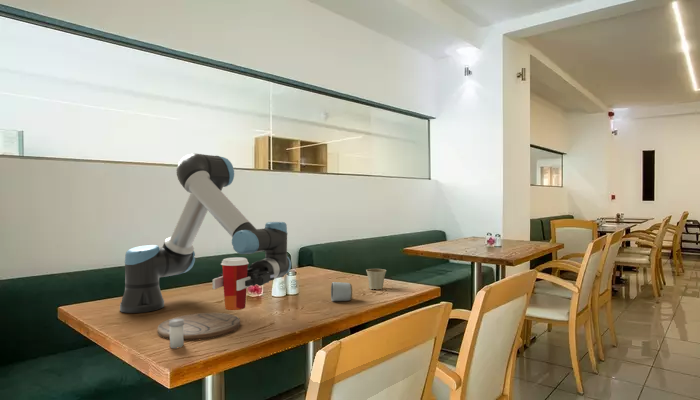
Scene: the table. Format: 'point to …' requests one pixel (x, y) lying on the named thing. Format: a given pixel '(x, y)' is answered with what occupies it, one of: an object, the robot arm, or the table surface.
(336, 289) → the ceramic mug
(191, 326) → the trivet
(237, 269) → the paper cup
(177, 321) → the salt shaker
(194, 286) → the table surface
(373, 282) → the flower pot
